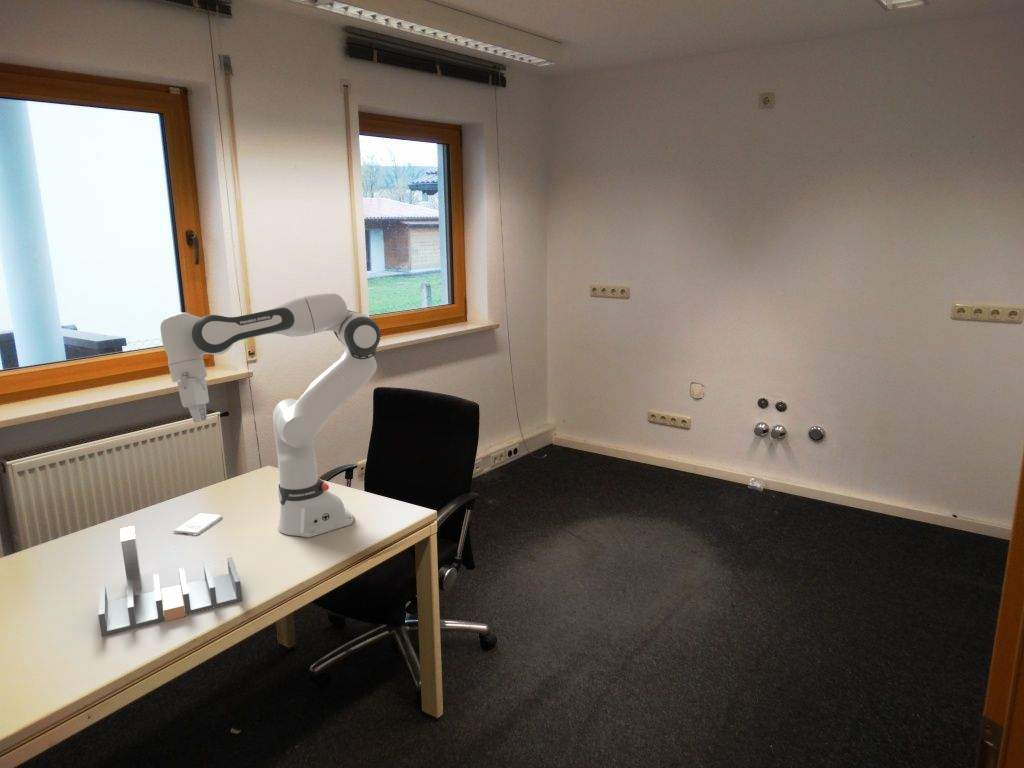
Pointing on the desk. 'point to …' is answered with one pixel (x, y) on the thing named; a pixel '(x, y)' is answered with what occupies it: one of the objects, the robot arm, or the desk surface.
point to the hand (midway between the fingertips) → (201, 421)
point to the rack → (168, 600)
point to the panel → (131, 556)
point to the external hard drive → (198, 523)
